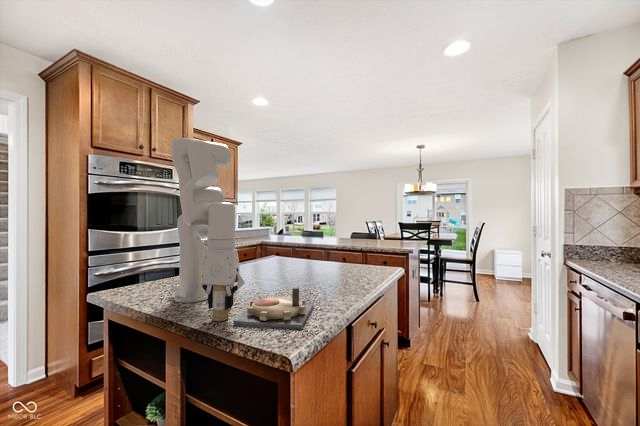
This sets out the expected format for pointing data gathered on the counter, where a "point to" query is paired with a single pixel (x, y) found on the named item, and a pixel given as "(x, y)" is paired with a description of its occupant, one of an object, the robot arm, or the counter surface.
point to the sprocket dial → (277, 307)
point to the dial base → (275, 320)
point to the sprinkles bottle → (219, 303)
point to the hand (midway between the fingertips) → (220, 307)
